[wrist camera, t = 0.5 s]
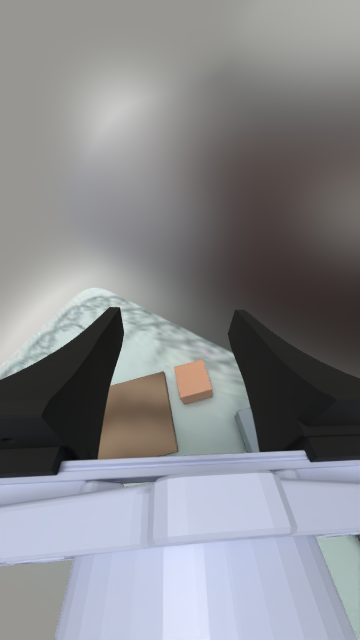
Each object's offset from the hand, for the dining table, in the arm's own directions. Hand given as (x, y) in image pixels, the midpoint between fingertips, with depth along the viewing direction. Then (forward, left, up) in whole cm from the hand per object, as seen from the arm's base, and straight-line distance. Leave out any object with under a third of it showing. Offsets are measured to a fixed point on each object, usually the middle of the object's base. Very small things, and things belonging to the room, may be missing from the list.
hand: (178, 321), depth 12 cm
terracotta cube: (+1, 0, -18) cm, 18 cm away
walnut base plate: (-1, +9, -18) cm, 20 cm away
